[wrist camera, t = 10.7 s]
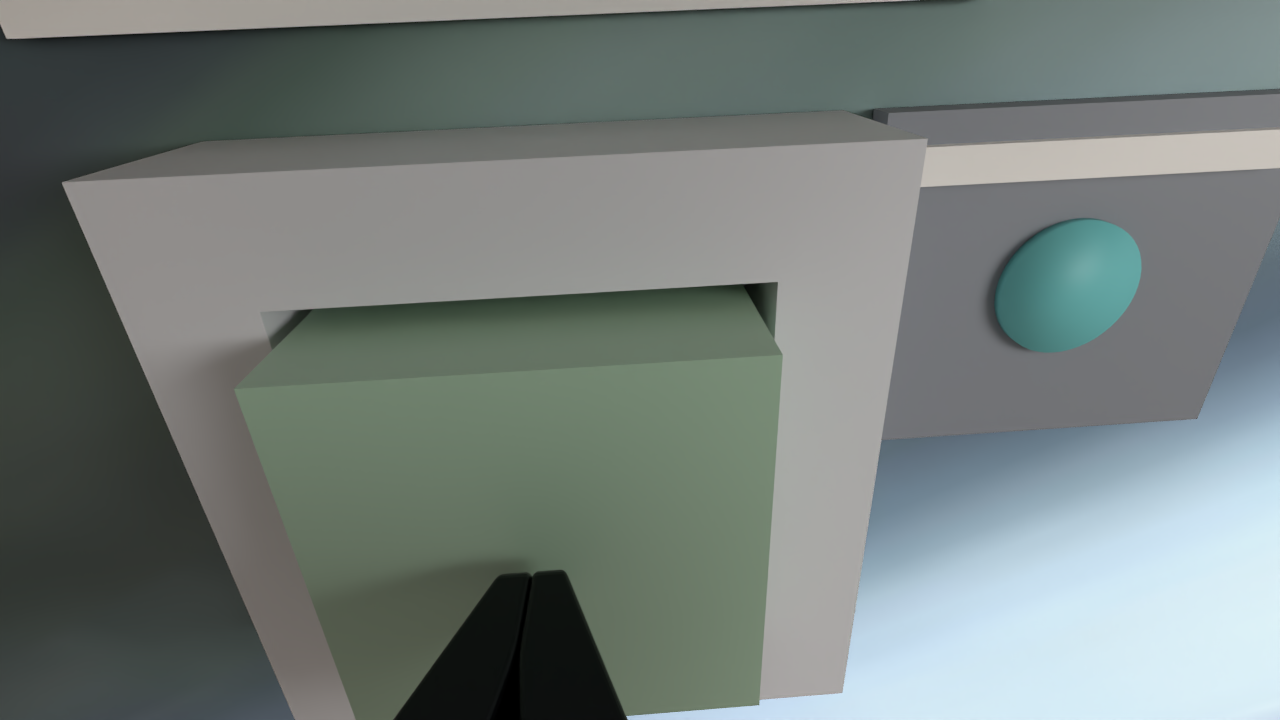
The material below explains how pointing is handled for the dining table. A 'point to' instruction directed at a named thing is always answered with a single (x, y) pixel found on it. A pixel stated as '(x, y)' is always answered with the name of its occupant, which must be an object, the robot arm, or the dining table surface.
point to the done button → (531, 479)
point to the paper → (310, 13)
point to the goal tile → (1079, 258)
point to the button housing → (519, 267)
